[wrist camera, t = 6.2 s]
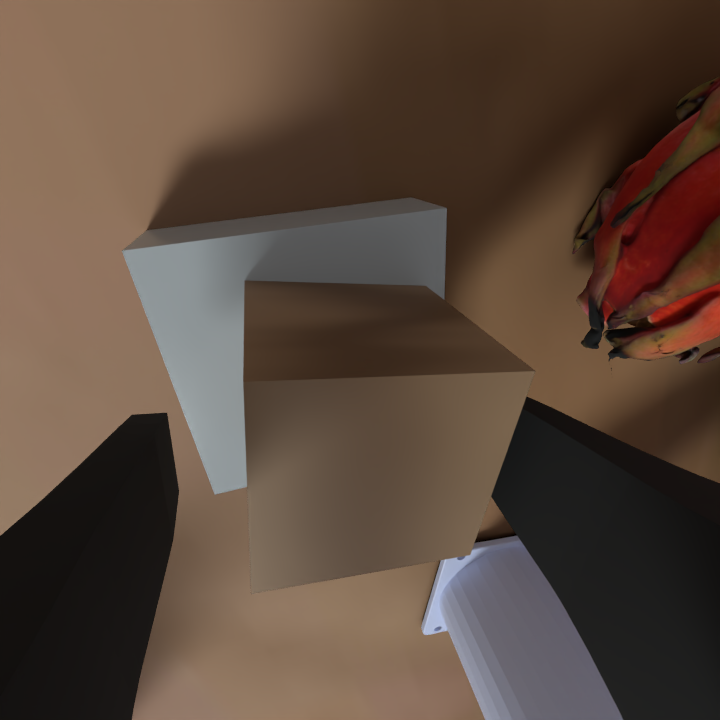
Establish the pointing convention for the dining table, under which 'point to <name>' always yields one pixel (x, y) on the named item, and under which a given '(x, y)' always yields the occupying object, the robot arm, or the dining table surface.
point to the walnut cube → (368, 428)
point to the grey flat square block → (264, 263)
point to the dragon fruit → (660, 243)
